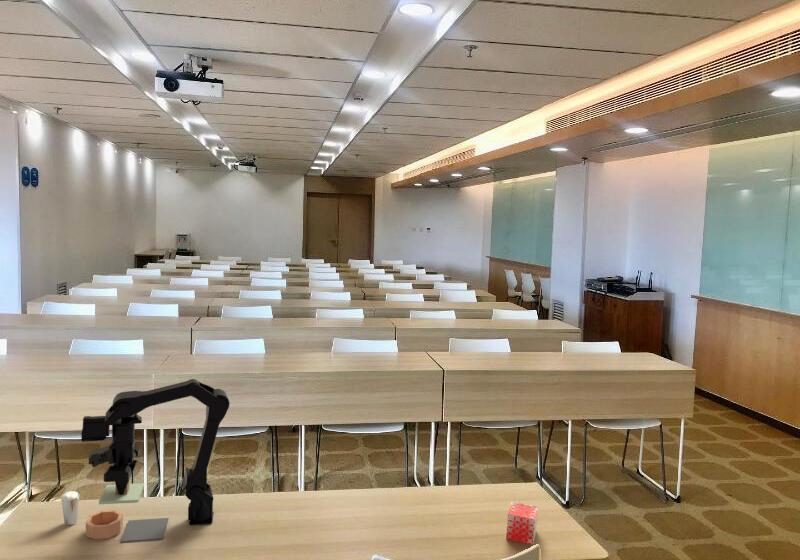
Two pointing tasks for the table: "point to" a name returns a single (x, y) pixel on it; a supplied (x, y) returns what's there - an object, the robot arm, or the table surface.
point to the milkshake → (70, 507)
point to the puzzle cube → (522, 523)
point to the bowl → (104, 524)
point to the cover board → (129, 495)
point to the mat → (145, 530)
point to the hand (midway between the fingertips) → (122, 491)
